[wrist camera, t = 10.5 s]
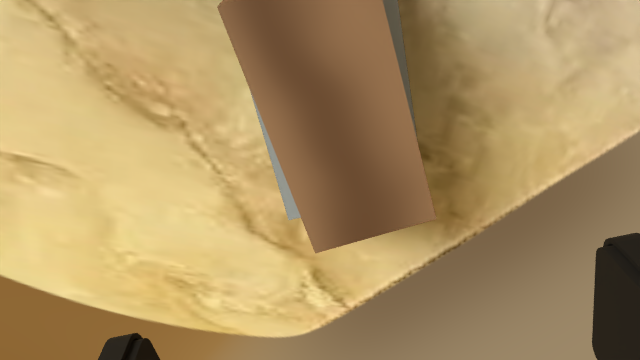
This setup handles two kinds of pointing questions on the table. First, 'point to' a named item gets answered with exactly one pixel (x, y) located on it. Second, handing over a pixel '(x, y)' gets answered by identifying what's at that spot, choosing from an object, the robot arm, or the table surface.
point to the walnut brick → (333, 113)
